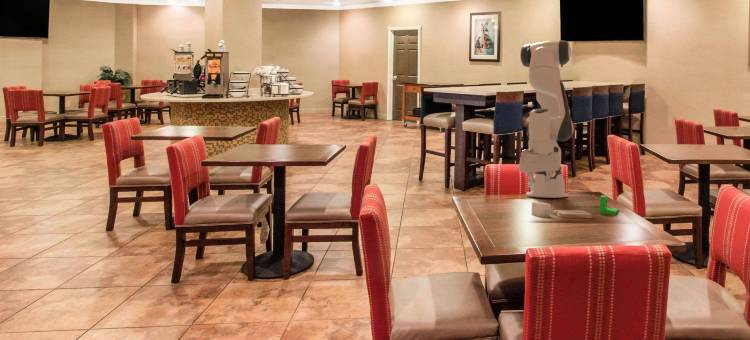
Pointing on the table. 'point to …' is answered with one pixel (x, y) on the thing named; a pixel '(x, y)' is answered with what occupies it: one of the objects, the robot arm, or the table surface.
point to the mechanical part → (604, 207)
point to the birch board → (573, 214)
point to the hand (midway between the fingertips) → (539, 182)
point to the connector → (541, 209)
